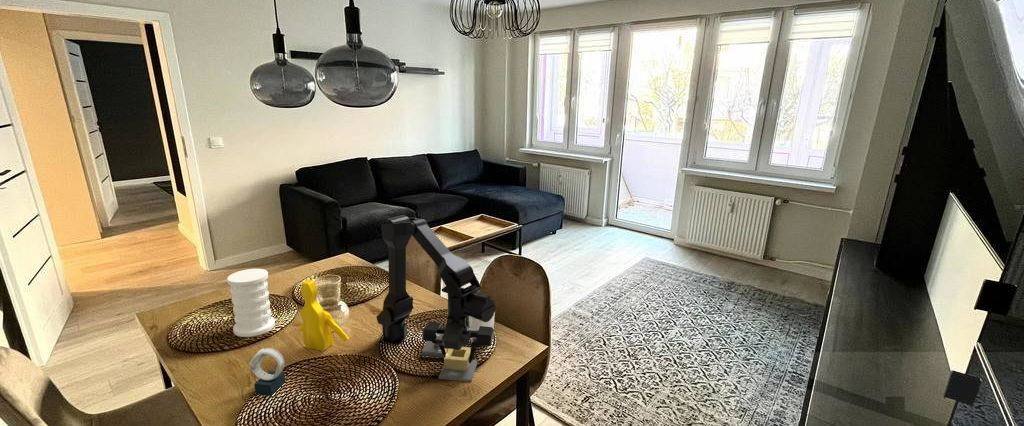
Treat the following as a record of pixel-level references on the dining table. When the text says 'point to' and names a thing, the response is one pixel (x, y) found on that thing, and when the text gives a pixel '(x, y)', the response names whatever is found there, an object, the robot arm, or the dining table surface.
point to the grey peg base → (432, 350)
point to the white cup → (480, 323)
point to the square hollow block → (457, 359)
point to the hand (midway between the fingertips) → (458, 361)
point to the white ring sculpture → (270, 379)
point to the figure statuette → (316, 320)
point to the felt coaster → (459, 373)
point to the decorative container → (250, 302)
